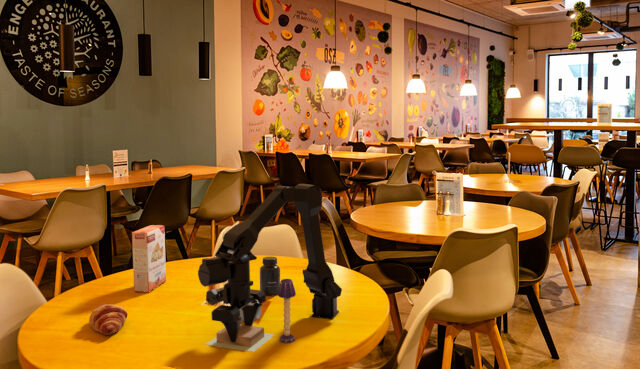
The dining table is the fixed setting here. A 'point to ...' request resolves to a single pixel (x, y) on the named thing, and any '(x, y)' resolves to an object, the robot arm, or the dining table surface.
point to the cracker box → (149, 257)
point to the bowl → (256, 316)
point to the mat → (251, 349)
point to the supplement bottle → (269, 276)
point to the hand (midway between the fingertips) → (240, 336)
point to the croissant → (107, 319)
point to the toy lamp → (286, 308)
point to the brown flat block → (242, 336)
